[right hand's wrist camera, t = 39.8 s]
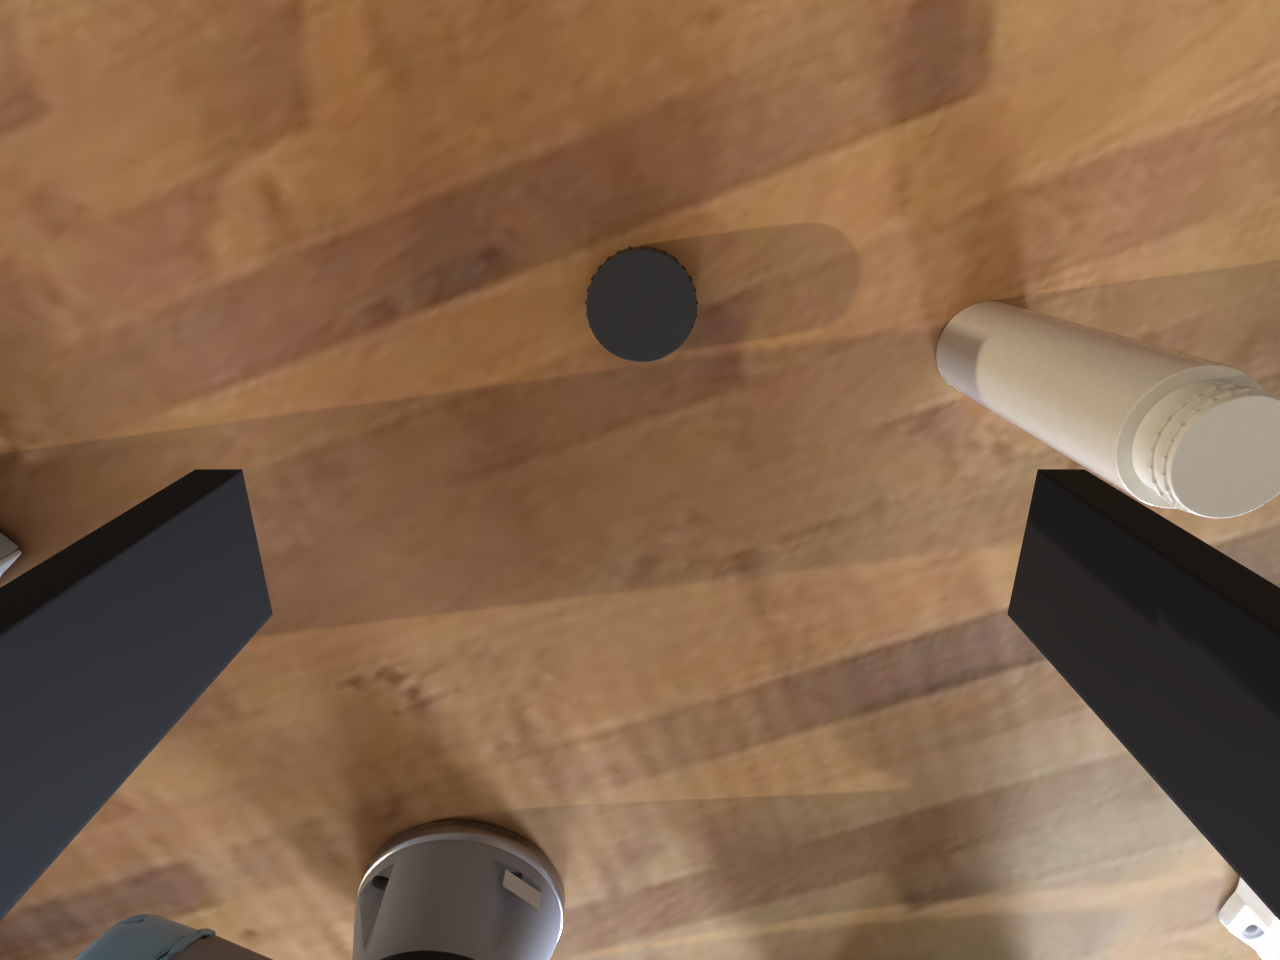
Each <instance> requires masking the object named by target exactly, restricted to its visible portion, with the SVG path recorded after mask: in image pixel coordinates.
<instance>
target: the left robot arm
mask: <svg viewBox="0 0 1280 960" xmlns="http://www.w3.org/2000/svg"><path fill="white" fill-rule="evenodd" d="M1219 920H1220V921H1221V922H1222V923H1223V924H1224V925H1225V927H1226V928H1227V929H1228V930H1229V931H1230V932H1231V933H1233V934H1234V935H1236V936H1237V937H1238V938H1240V939H1241V940H1242V941H1244V942H1245V943H1247V944H1248V945H1249V946H1251V947H1252V948H1254V949H1255V950H1256V951H1257V953H1258V954H1259V956H1260V957H1261V958H1262V959H1263V960H1280V921H1279V920H1278V919H1277V918H1276V916H1275V915H1274V914H1273V913H1272V912H1271V911H1270V910H1269V909H1268V907H1267V906H1266V905H1265V904H1264V903H1263V902H1262V901H1261V900H1260V898H1259V897H1258V896H1257V895H1256V894H1255V893H1254V892H1253V891H1252V889H1251V888H1250V887H1249V886H1248V885H1247V884H1246V883H1245V882H1244V880H1243V879H1242V878H1241V877H1240V880H1239V883H1238V886H1237V888H1236V891H1235V892H1234V893H1233V894H1232V895H1231V897H1230V898H1229V899H1228V900H1227V902H1226V903H1225V904H1224V906H1223V907H1222V909H1221V910H1220V912H1219Z"/></svg>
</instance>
